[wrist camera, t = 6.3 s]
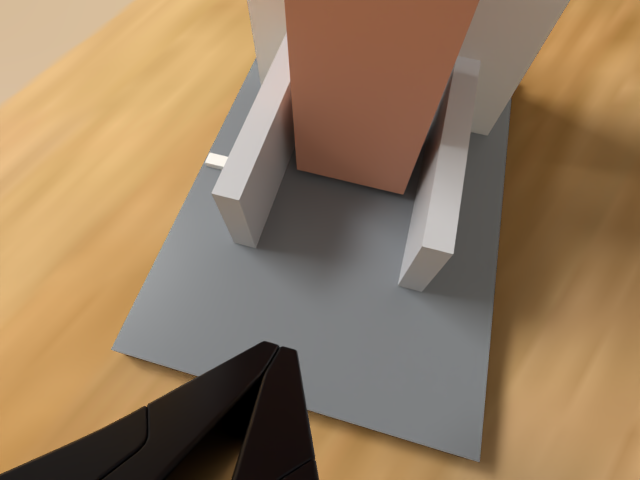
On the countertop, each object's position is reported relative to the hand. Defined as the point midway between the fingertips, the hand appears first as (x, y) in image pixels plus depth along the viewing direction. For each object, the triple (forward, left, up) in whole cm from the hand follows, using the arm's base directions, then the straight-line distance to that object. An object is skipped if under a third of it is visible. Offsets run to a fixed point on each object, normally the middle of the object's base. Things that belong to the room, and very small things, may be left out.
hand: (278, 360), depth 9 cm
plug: (+11, -2, -5) cm, 12 cm away
